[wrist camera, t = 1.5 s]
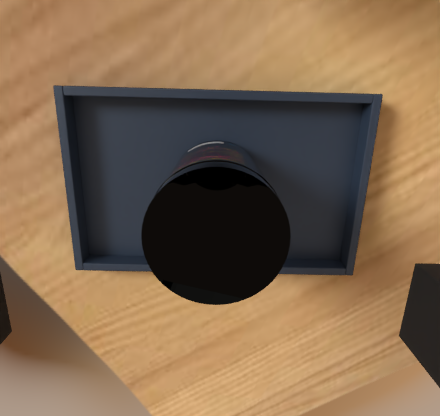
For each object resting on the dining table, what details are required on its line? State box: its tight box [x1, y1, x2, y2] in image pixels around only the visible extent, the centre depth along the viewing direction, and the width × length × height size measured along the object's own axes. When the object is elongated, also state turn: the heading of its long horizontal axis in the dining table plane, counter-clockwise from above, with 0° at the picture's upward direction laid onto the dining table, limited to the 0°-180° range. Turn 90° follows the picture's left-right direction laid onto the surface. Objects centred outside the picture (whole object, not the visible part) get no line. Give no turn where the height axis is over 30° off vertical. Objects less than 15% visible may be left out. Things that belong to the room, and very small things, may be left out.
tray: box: [53, 86, 383, 275], centre depth 24 cm, size 21×13×2 cm, turn 89°
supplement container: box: [141, 140, 291, 305], centre depth 20 cm, size 7×7×10 cm
